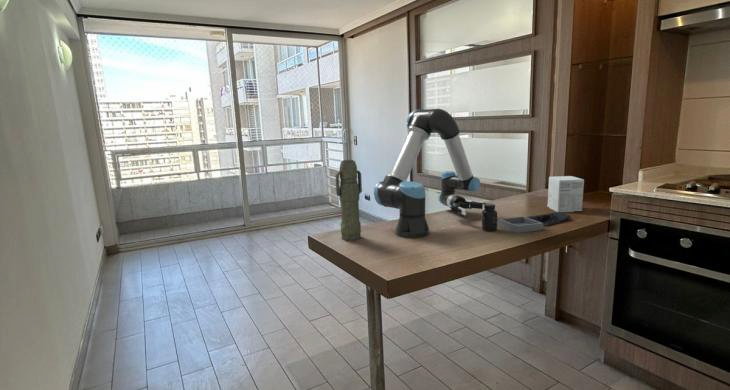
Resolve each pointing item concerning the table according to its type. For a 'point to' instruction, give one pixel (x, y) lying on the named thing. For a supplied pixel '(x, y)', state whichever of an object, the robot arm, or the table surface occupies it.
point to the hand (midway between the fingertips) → (478, 211)
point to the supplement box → (565, 193)
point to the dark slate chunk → (550, 218)
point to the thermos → (349, 199)
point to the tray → (520, 224)
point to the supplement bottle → (489, 218)
